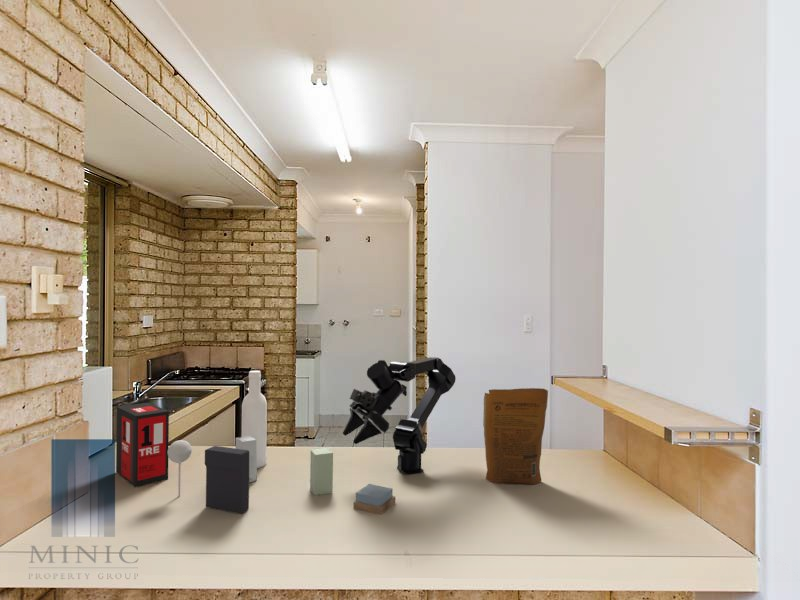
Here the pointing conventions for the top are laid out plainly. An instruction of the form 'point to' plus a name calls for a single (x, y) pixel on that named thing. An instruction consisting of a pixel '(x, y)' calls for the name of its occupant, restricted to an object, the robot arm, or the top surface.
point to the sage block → (321, 471)
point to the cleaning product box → (142, 443)
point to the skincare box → (249, 445)
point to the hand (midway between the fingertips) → (348, 438)
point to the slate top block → (374, 495)
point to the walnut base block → (374, 508)
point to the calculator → (227, 479)
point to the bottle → (255, 417)
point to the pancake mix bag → (514, 434)
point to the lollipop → (179, 454)
